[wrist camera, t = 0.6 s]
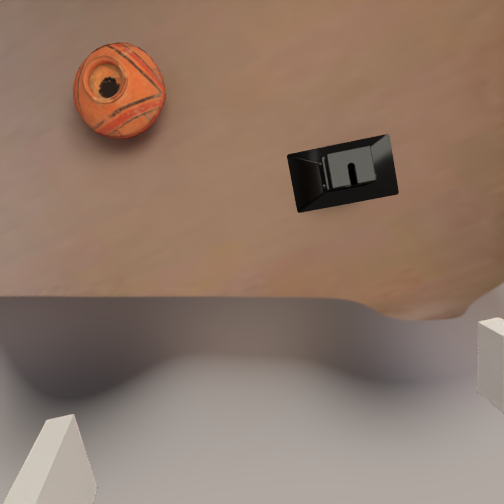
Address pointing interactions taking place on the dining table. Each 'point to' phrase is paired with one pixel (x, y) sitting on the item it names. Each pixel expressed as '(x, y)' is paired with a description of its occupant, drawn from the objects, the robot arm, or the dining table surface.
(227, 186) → the dining table surface
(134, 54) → the pot
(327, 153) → the black box
